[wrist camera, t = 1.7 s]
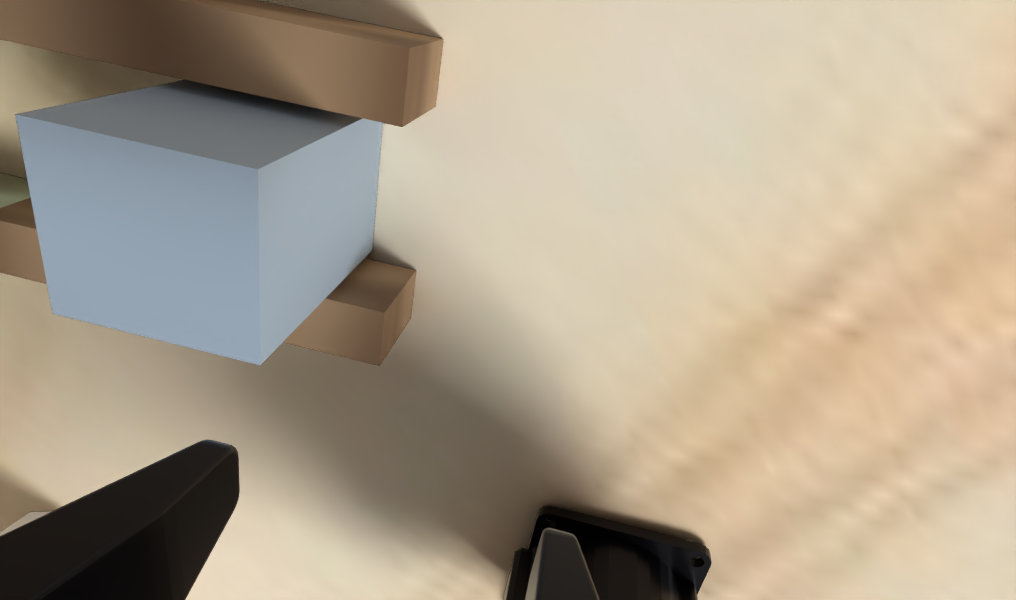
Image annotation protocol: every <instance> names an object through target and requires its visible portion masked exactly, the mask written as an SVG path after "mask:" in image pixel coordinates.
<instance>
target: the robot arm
mask: <svg viewBox="0 0 1016 600" xmlns="http://www.w3.org/2000/svg"><path fill="white" fill-rule="evenodd" d="M239 490H240V489H239V459H238V451H237V449H236V448H235V447H234V446H232V445H229V444H225V443H221V442H217V441H213V440H203V441H200V442H198V443H195V444H193V445H191V446H189V447H187V448H185V449H183V450H181V451H179V452H176V453H174V454H172V455H170V456H168V457H166V458H164V459H162V460H160V461H157V462H155V463H153V464H151V465H149V466H147V467H145V468H143V469H141V470H138V471H136V472H134V473H132V474H130V475H128V476H126V477H124V478H122V479H119V480H117V481H115V482H113V483H111V484H109V485H107V486H105V487H103V488H100V489H98V490H96V491H94V492H92V493H90V494H88V495H86V496H84V497H81V498H79V499H77V500H75V501H73V502H71V503H69V504H67V505H65V506H62V507H60V508H58V509H56V510H54V511H52V512H50V513H48V514H46V515H43V516H41V517H39V518H37V519H35V520H33V521H31V522H29V523H26V524H24V525H22V526H20V527H18V528H16V529H14V530H12V531H10V532H7V533H5V534H3V535H1V536H0V600H185V599H186V597H187V595H188V594H189V592H190V590H191V588H192V586H193V584H194V583H195V581H196V579H197V577H198V575H199V573H200V572H201V570H202V568H203V566H204V564H205V563H206V561H207V559H208V557H209V555H210V553H211V552H212V550H213V548H214V546H215V544H216V542H217V541H218V539H219V537H220V535H221V533H222V531H223V530H224V528H225V526H226V524H227V522H228V520H229V519H230V517H231V515H232V513H233V511H234V509H235V507H236V504H237V501H238V498H239ZM547 519H552V520H554V521H549V520H547ZM694 557H700V558H694ZM710 566H711V556H710V552H709V549H708V548H707V547H706V546H704V545H701V544H698V543H694V542H690V541H686V540H683V539H679V538H675V537H671V536H667V535H663V534H659V533H655V532H651V531H648V530H644V529H640V528H636V527H632V526H628V525H624V524H620V523H616V522H613V521H609V520H605V519H601V518H597V517H593V516H589V515H585V514H581V513H578V512H574V511H570V510H566V509H562V508H558V507H554V506H544V507H542V508H541V509H539V511H538V513H537V517H536V520H535V524H534V528H533V531H532V535H531V539H530V542H529V546H528V549H526V548H522V547H521V548H520V549H518V550H517V551H515V554H514V558H513V562H512V566H511V570H510V574H509V578H508V582H507V585H506V589H505V594H504V598H503V600H697V594H698V591H699V589H700V587H701V585H702V583H703V581H704V579H705V577H706V575H707V572H708V570H709V568H710Z"/></svg>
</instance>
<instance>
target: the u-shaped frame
mask: <svg viewBox="0 0 1016 600" xmlns="http://www.w3.org/2000/svg"><path fill="white" fill-rule="evenodd" d="M0 39H1V40H6V41H11V42H15V43H20V44H24V45H29V46H34V47H38V48H43V49H47V50H52V51H56V52H61V53H66V54H70V55H75V56H79V57H84V58H88V59H93V60H98V61H102V62H107V63H111V64H116V65H121V66H125V67H130V68H134V69H139V70H143V71H148V72H153V73H157V74H162V75H166V76H171V77H176V78H180V79H185V80H189V81H194V82H198V83H203V84H208V85H212V86H217V87H221V88H226V89H231V90H235V91H240V92H244V93H249V94H253V95H258V96H263V97H267V98H272V99H276V100H281V101H285V102H290V103H295V104H299V105H304V106H308V107H313V108H318V109H322V110H327V111H331V112H336V113H340V114H345V115H350V116H354V117H359V118H363V119H368V120H373V121H377V122H382V123H386V124H391V125H395V126H400V127H403V126H405V125H406V124H408V123H410V122H411V121H413V120H415V119H416V118H418V117H419V116H421V115H423V114H424V113H426V112H428V111H429V110H431V109H432V108H434V107H436V98H437V90H438V81H439V73H440V64H441V56H442V47H443V39H440V38H435V37H430V36H426V35H421V34H416V33H411V32H406V31H401V30H397V29H392V28H387V27H382V26H377V25H372V24H368V23H363V22H358V21H353V20H348V19H344V18H339V17H334V16H329V15H324V14H319V13H315V12H310V11H305V10H300V9H295V8H290V7H286V6H281V5H276V4H271V3H266V2H262V1H257V0H0ZM0 273H4V274H8V275H12V276H17V277H21V278H25V279H29V280H33V281H37V282H41V283H45V284H47V281H46V276H45V271H44V265H43V260H42V255H41V250H40V244H39V239H38V234H37V228H36V223H35V218H34V212H33V207H32V202H31V196H30V191H29V186H28V180H27V179H24V178H19V177H15V176H11V175H6V174H2V173H0ZM415 277H416V270H412V269H408V268H404V267H399V266H395V265H391V264H386V263H382V262H378V261H374V260H369V259H365V258H364V259H363V260H362V261H361V262H360V263H359V264H358V265H357V266H356V268H355V269H354V270H353V271H352V272H351V273H350V274H349V275H348V276H347V277H346V278H345V279H344V280H343V281H342V282H341V283H340V284H339V285H338V286H337V287H336V288H335V289H334V290H333V291H332V292H331V293H330V294H329V295H328V296H327V297H326V298H325V299H324V300H323V301H322V302H321V303H320V304H319V305H318V307H317V308H316V309H315V310H314V311H313V312H312V313H311V314H310V315H309V316H308V317H307V318H306V319H305V320H304V321H303V322H302V323H301V324H300V325H299V326H298V327H297V328H296V329H295V330H294V331H293V332H292V333H291V334H290V335H289V336H288V337H287V338H286V339H285V340H284V341H283V342H285V343H289V344H293V345H297V346H301V347H305V348H309V349H313V350H317V351H321V352H325V353H329V354H333V355H338V356H342V357H346V358H350V359H354V360H358V361H362V362H366V363H370V364H374V365H378V366H380V364H381V363H382V361H383V360H384V358H385V357H386V355H387V354H388V352H389V351H390V349H391V348H392V346H393V345H394V343H395V342H396V340H397V338H398V337H399V335H400V334H401V332H402V331H403V329H404V328H405V326H406V325H407V323H408V322H409V320H410V319H411V311H412V302H413V294H414V285H415Z"/></svg>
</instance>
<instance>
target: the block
mask: <svg viewBox="0 0 1016 600" xmlns="http://www.w3.org/2000/svg"><path fill="white" fill-rule="evenodd" d="M15 116H16V122H17V127H18V132H19V138H20V143H21V148H22V154H23V159H24V164H25V170H26V175H27V180H28V186H29V191H30V196H31V202H32V207H33V212H34V218H35V223H36V228H37V234H38V239H39V244H40V250H41V255H42V260H43V265H44V271H45V276H46V281H47V287H48V292H49V297H50V303H51V308H52V313H53V314H56V315H60V316H64V317H68V318H72V319H76V320H80V321H84V322H88V323H92V324H96V325H100V326H104V327H108V328H112V329H116V330H120V331H124V332H128V333H132V334H136V335H140V336H144V337H148V338H152V339H156V340H160V341H164V342H168V343H172V344H176V345H180V346H184V347H188V348H192V349H196V350H200V351H204V352H208V353H212V354H216V355H220V356H224V357H228V358H232V359H236V360H240V361H244V362H248V363H252V364H256V365H261V364H262V363H263V362H264V361H265V360H266V359H267V358H268V357H269V356H270V355H271V354H272V353H273V352H274V351H275V350H276V349H277V348H278V347H279V346H280V345H281V343H282V342H283V341H284V340H285V339H286V338H287V337H288V336H289V335H290V334H291V333H292V332H293V331H294V330H295V329H296V328H297V327H298V326H299V325H300V324H301V323H302V322H303V321H304V320H305V319H306V318H307V317H308V316H309V315H310V314H311V313H312V312H313V311H314V310H315V309H316V308H317V307H318V305H319V304H320V303H321V302H322V301H323V300H324V299H325V298H326V297H327V296H328V295H329V294H330V293H331V292H332V291H333V290H334V289H335V288H336V287H337V286H338V285H339V284H340V283H341V282H342V281H343V280H344V279H345V278H346V277H347V276H348V275H349V274H350V273H351V272H352V271H353V270H354V269H355V268H356V266H357V265H358V264H359V263H360V262H361V261H362V260H363V259H364V258H365V257H366V256H367V255H368V254H369V253H370V252H371V251H372V249H373V236H374V224H375V211H376V199H377V186H378V174H379V161H380V149H381V137H382V124H383V123H382V122H377V121H373V120H368V119H363V118H359V117H354V116H350V115H345V114H340V113H336V112H331V111H327V110H322V109H318V108H313V107H308V106H304V105H299V104H295V103H290V102H285V101H281V100H276V99H272V98H267V97H263V96H258V95H253V94H249V93H244V92H240V91H235V90H231V89H226V88H221V87H217V86H212V85H208V84H203V83H198V82H194V81H189V80H182V81H177V82H172V83H167V84H163V85H158V86H153V87H148V88H143V89H138V90H133V91H128V92H123V93H118V94H113V95H108V96H103V97H98V98H94V99H89V100H84V101H79V102H74V103H69V104H64V105H59V106H54V107H49V108H44V109H39V110H34V111H29V112H24V113H20V114H15Z"/></svg>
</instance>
